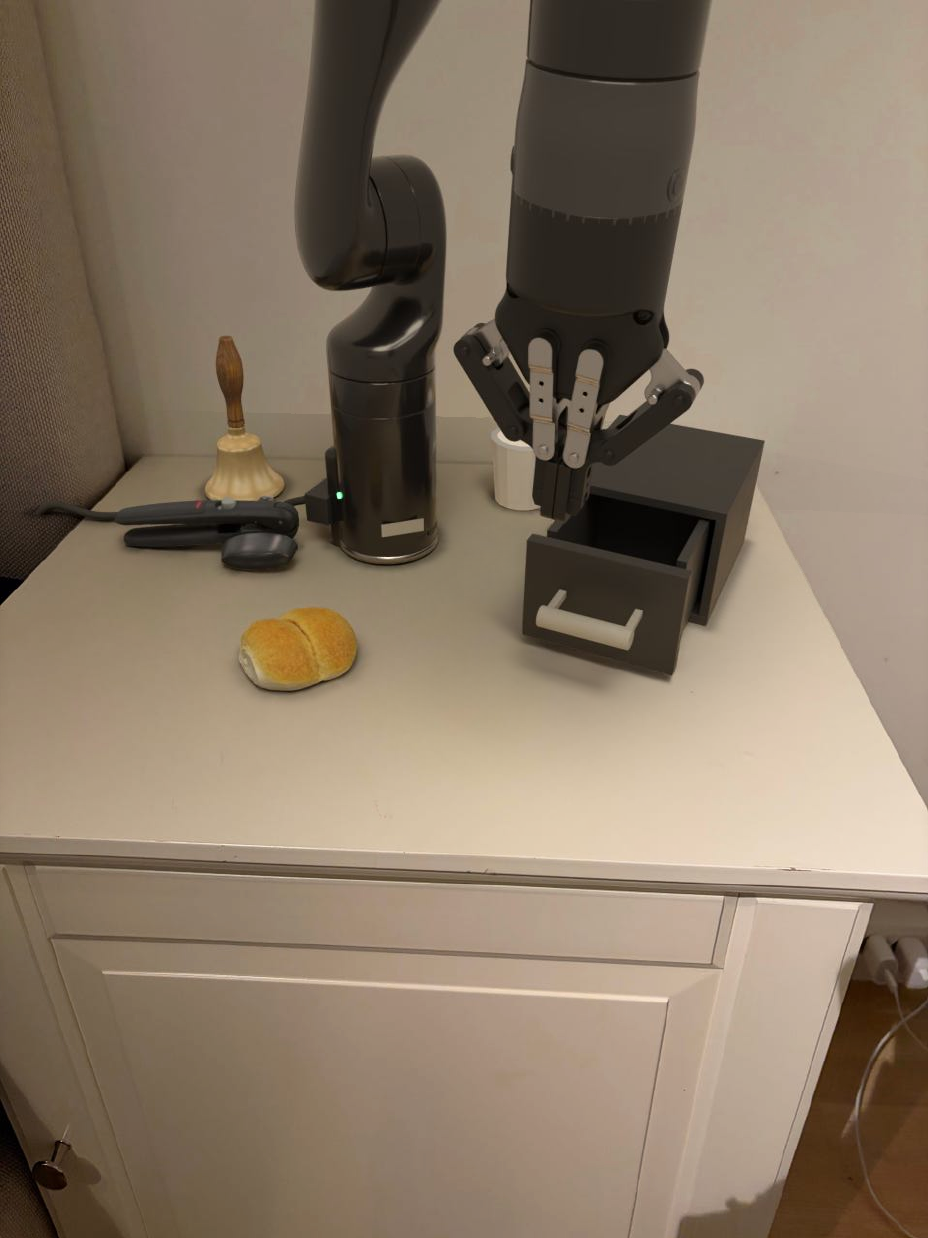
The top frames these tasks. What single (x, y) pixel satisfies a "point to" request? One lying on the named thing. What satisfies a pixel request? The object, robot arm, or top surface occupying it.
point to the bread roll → (297, 649)
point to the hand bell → (238, 440)
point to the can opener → (219, 529)
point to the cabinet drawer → (617, 581)
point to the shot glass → (513, 472)
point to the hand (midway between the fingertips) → (557, 512)
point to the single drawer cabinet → (692, 490)
